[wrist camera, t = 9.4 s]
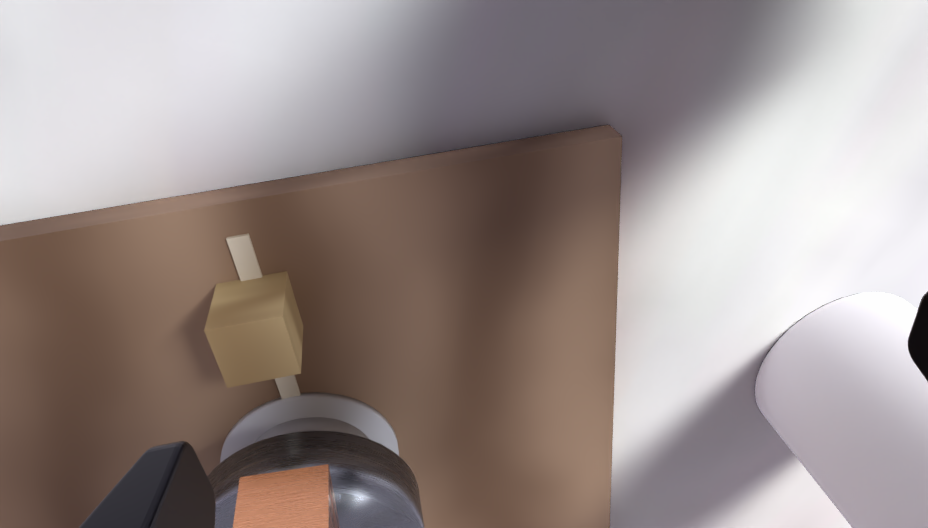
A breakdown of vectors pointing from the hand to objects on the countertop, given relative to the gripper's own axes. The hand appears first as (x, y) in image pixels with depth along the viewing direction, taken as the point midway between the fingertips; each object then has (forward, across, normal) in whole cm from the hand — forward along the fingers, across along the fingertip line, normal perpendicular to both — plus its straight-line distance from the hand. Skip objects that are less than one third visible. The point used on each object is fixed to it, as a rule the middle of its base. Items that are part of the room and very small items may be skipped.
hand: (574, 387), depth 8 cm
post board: (+12, +6, +12) cm, 18 cm away
